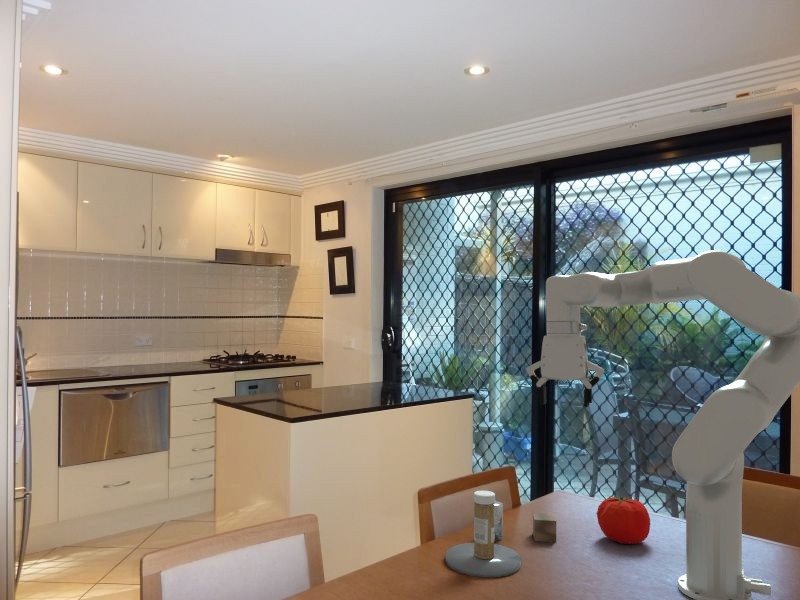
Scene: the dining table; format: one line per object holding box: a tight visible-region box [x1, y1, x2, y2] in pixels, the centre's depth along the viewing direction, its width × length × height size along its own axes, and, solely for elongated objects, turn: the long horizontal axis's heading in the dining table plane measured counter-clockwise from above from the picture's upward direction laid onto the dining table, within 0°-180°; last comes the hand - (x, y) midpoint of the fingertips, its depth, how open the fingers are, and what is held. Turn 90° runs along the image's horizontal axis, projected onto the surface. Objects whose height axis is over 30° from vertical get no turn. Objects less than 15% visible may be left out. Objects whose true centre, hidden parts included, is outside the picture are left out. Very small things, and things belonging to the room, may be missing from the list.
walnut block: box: [532, 512, 557, 543], centre depth 146 cm, size 5×5×5 cm
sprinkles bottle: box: [473, 490, 496, 559], centre depth 131 cm, size 5×5×13 cm
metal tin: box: [494, 500, 504, 542], centre depth 145 cm, size 5×5×8 cm
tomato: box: [596, 495, 651, 545], centre depth 144 cm, size 12×12×10 cm
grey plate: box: [445, 542, 522, 578], centre depth 131 cm, size 16×16×1 cm
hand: (564, 405), depth 138 cm, fingers open, 9 cm apart
